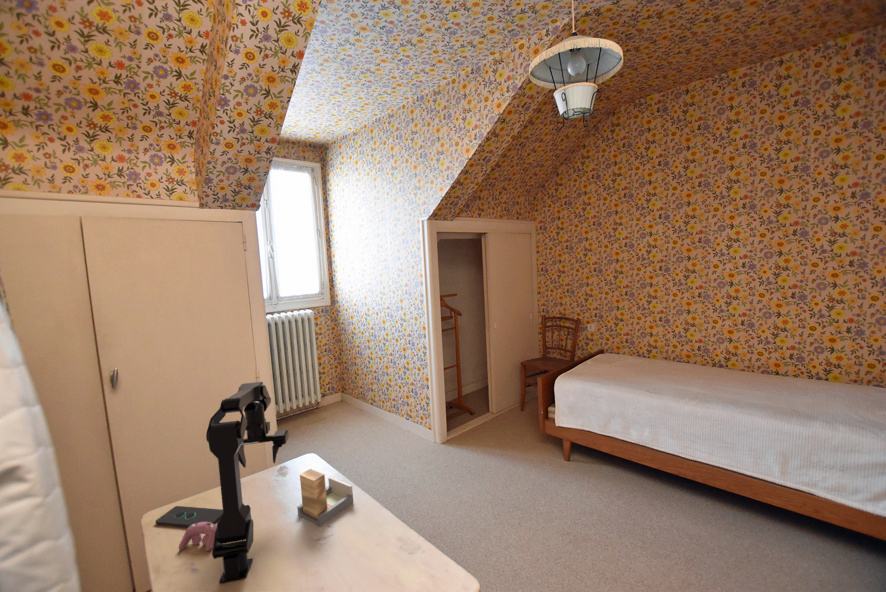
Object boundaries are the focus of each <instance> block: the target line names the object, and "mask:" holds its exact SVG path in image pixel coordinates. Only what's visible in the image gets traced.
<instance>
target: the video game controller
mask: <svg viewBox="0 0 886 592" xmlns="http://www.w3.org/2000/svg"><path fill="white" fill-rule="evenodd" d="M216 529H217V524H213V523H210V522H199V523H195V524H193V525H191V526H189V528H186V530H185V532H184V535H182V538H181V540H180V542H179V545H178V549H179V551H183V550H184V549H186V547H187V546H188V545H189V543H190V541H191V543H192V544H193V545H197V544H199V543H202V544H203V545H205V551H206V552H210V550H212V549H213V544H214V537H215V531H216ZM202 535H203V537H202Z"/></svg>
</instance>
